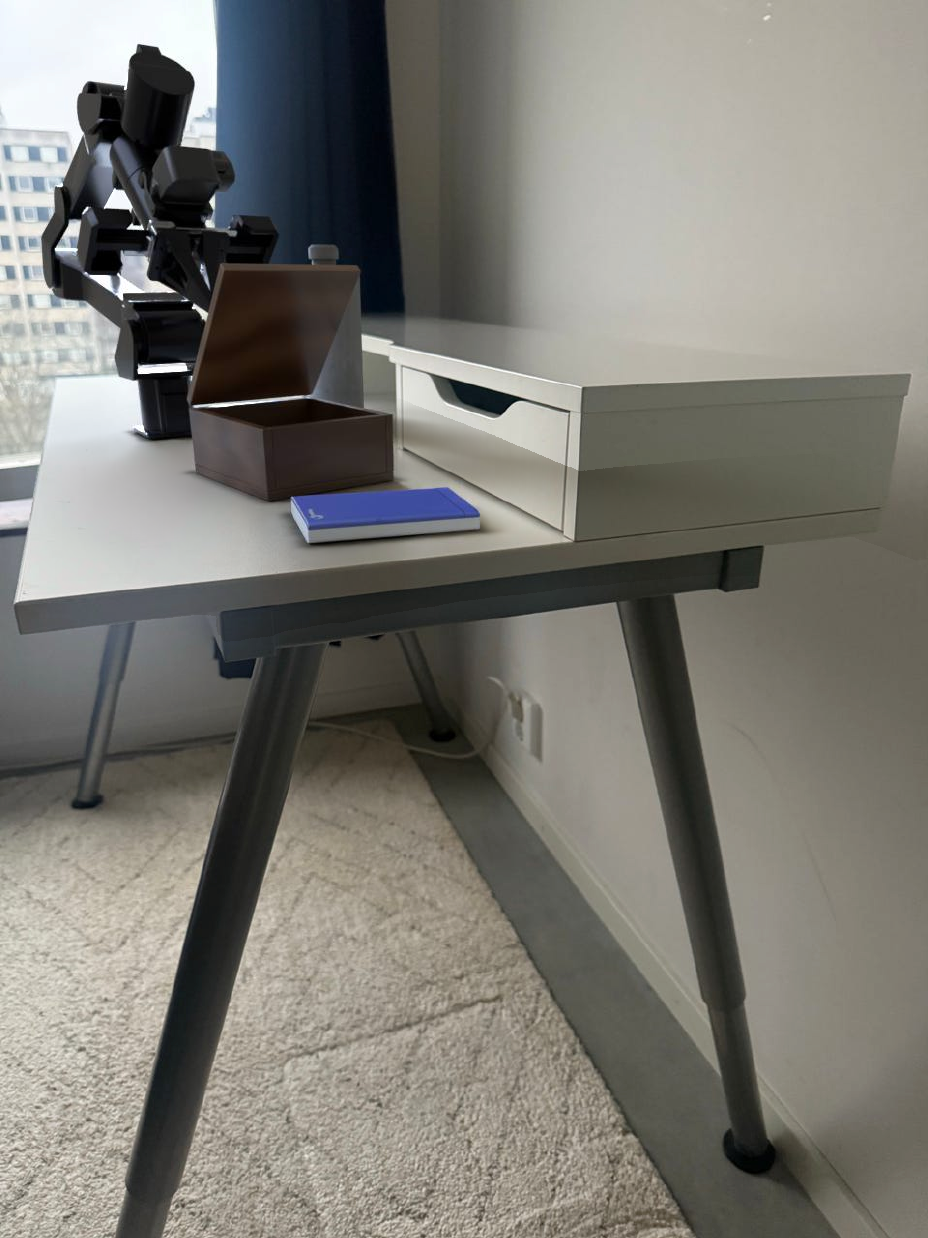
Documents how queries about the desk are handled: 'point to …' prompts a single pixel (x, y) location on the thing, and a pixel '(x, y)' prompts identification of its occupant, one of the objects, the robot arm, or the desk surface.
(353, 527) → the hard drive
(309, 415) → the keepsake box
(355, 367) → the flask
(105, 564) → the desk surface
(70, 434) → the desk surface
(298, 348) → the lid
